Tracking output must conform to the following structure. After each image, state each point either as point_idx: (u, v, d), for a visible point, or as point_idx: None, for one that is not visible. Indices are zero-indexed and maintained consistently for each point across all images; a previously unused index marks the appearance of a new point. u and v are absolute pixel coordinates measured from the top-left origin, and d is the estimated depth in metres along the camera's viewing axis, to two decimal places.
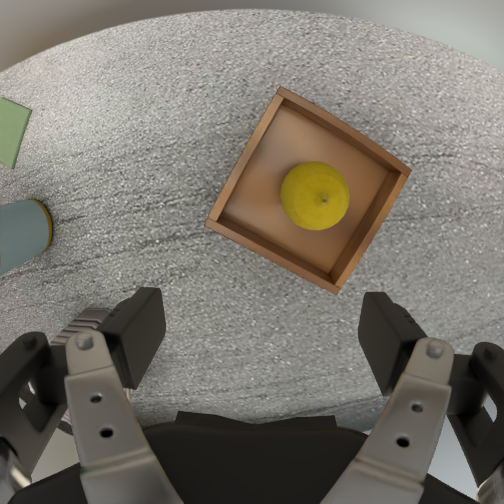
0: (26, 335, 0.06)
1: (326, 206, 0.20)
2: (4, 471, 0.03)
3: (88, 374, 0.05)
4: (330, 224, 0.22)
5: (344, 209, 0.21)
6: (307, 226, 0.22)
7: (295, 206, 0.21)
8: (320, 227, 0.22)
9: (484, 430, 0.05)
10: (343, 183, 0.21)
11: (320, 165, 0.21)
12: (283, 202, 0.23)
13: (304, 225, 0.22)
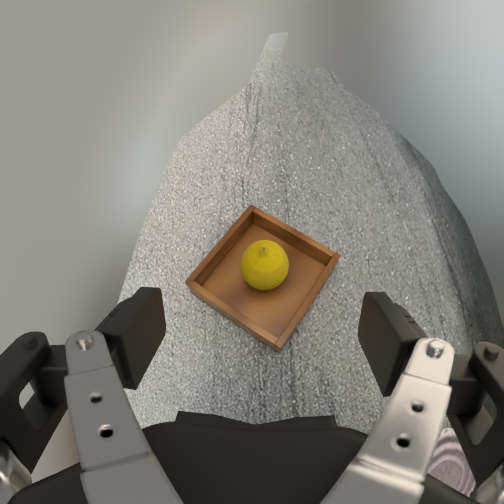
0: (26, 334, 0.06)
1: (268, 249, 0.31)
2: (4, 471, 0.03)
3: (88, 374, 0.05)
4: (282, 251, 0.33)
5: (272, 241, 0.33)
6: (283, 266, 0.32)
7: (268, 271, 0.31)
8: (284, 257, 0.32)
9: (484, 430, 0.05)
10: (255, 242, 0.33)
11: (242, 256, 0.33)
12: (266, 283, 0.32)
13: (283, 268, 0.32)
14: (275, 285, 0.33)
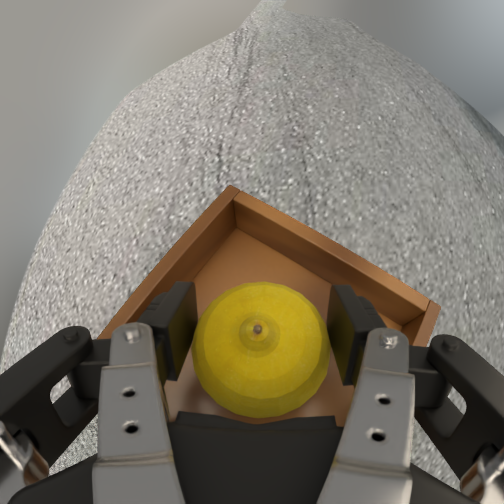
0: (68, 329, 0.07)
1: (274, 325, 0.09)
2: (19, 462, 0.03)
3: (126, 367, 0.05)
4: (318, 320, 0.10)
5: (286, 289, 0.10)
6: (321, 370, 0.09)
7: (271, 395, 0.08)
8: (324, 342, 0.10)
9: (453, 421, 0.06)
10: (232, 289, 0.11)
11: (194, 333, 0.11)
12: (266, 415, 0.10)
13: (318, 376, 0.09)
14: None
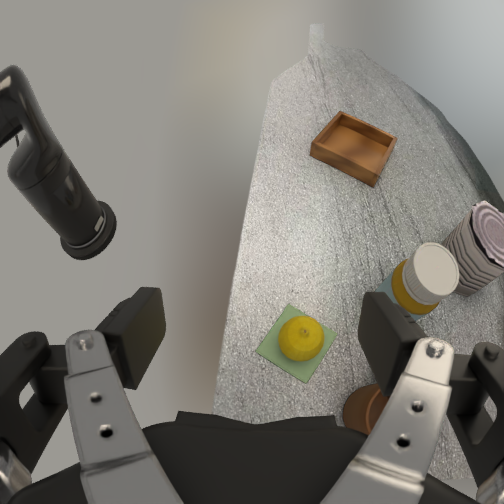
0: (26, 335, 0.06)
1: (308, 330, 0.31)
2: (4, 471, 0.03)
3: (88, 374, 0.05)
4: (320, 328, 0.32)
5: (311, 319, 0.33)
6: (321, 343, 0.32)
7: (307, 350, 0.31)
8: (322, 334, 0.32)
9: (484, 430, 0.05)
10: (294, 319, 0.33)
11: (281, 333, 0.33)
12: (304, 358, 0.32)
13: (320, 345, 0.32)
14: None
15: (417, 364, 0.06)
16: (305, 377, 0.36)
